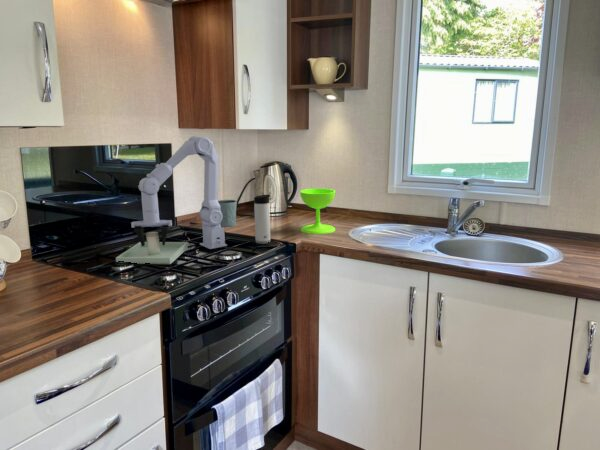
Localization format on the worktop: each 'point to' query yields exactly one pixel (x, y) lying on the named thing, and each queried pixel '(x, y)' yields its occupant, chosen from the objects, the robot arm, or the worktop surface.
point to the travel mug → (262, 219)
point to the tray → (141, 255)
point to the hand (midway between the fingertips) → (153, 245)
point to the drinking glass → (228, 212)
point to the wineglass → (317, 208)
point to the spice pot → (153, 243)
